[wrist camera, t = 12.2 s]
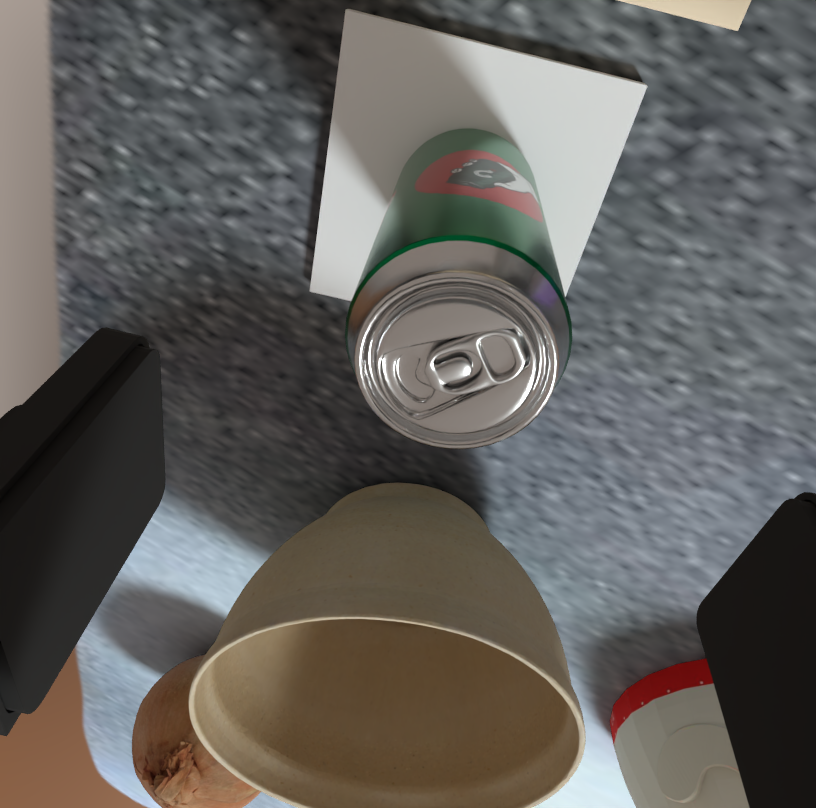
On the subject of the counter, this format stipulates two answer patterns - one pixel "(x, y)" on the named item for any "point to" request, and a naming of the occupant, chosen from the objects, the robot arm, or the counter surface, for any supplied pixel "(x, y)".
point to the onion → (180, 750)
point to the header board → (701, 10)
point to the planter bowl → (391, 666)
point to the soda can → (460, 298)
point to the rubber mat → (459, 109)
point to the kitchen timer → (676, 741)
